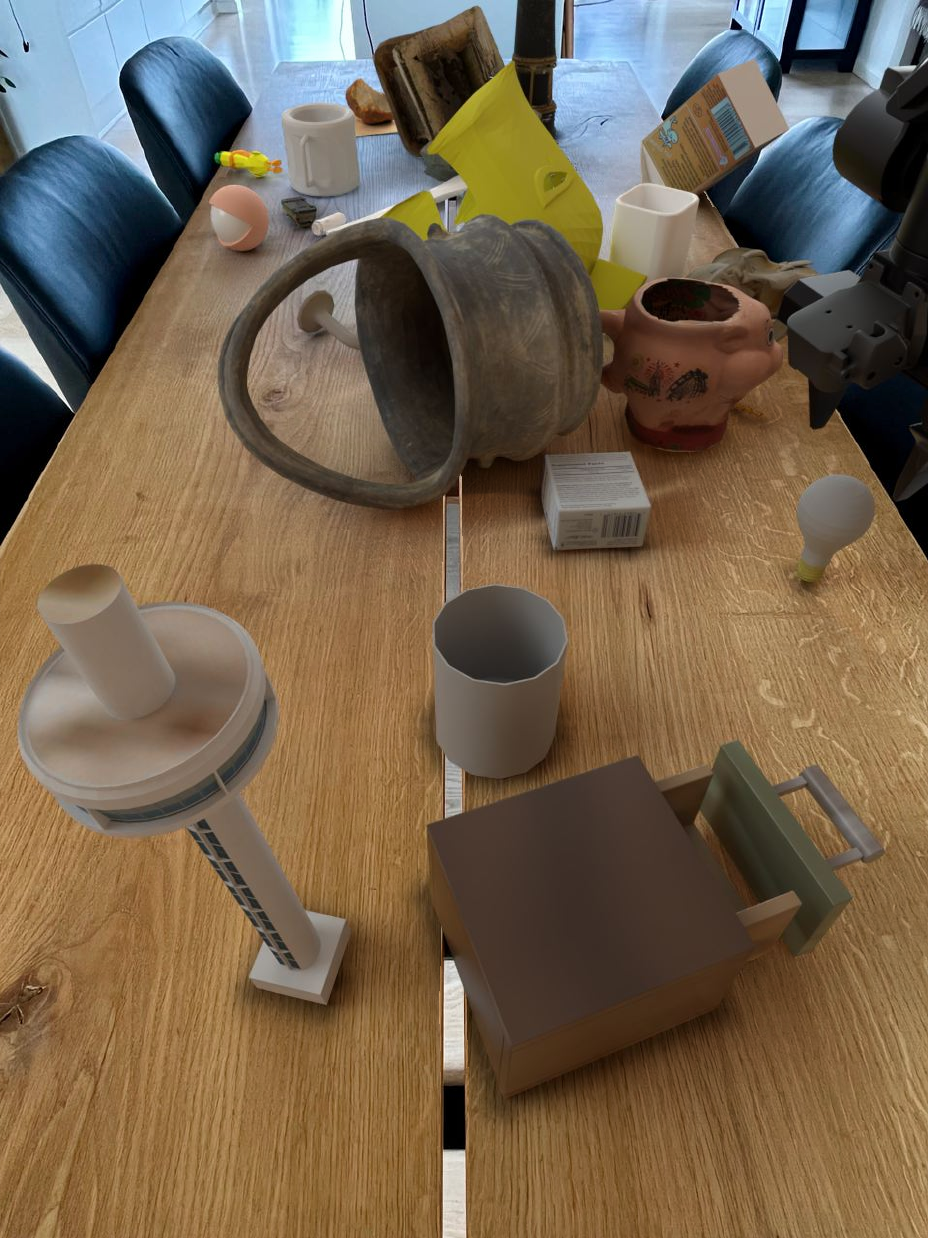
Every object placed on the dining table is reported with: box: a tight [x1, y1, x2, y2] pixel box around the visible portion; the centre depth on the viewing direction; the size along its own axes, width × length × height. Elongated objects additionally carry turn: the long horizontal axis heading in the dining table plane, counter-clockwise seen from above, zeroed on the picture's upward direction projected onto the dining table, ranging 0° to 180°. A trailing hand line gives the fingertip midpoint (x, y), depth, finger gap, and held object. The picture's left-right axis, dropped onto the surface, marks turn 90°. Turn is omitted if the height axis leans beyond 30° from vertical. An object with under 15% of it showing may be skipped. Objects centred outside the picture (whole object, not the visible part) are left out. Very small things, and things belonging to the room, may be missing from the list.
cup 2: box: [608, 183, 700, 285], centre depth 92 cm, size 7×7×15 cm
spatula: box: [325, 175, 468, 236], centre depth 121 cm, size 28×4×2 cm, turn 137°
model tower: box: [17, 563, 352, 1006], centre depth 36 cm, size 8×8×30 cm
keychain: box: [732, 403, 766, 420], centre depth 86 cm, size 8×1×1 cm, turn 43°
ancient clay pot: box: [216, 214, 604, 511], centre depth 72 cm, size 22×23×30 cm
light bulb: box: [796, 473, 876, 583], centre depth 66 cm, size 6×5×10 cm
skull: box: [685, 247, 822, 343], centre depth 91 cm, size 12×18×12 cm
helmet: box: [380, 59, 647, 335], centre depth 90 cm, size 16×23×30 cm
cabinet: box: [425, 754, 756, 1100], centre depth 45 cm, size 13×12×9 cm
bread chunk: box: [345, 77, 398, 137], centre depth 149 cm, size 15×11×11 cm
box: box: [540, 451, 652, 551], centre depth 72 cm, size 8×4×9 cm
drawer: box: [654, 739, 886, 963], centre depth 47 cm, size 16×10×7 cm, turn 111°
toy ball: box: [208, 184, 270, 252], centre depth 111 cm, size 8×8×8 cm
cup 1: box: [432, 583, 569, 780], centre depth 55 cm, size 8×8×10 cm
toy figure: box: [214, 149, 283, 179], centre depth 132 cm, size 7×4×12 cm
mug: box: [280, 102, 361, 197], centre depth 125 cm, size 14×11×10 cm
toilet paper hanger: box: [296, 289, 361, 351], centre depth 99 cm, size 25×8×5 cm, turn 135°
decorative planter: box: [599, 277, 784, 453], centre depth 79 cm, size 20×12×14 cm, turn 87°
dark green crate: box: [280, 196, 318, 228], centre depth 119 cm, size 4×8×2 cm, turn 25°
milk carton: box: [639, 58, 790, 196], centre depth 122 cm, size 11×11×19 cm
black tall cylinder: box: [511, 0, 558, 139], centre depth 136 cm, size 9×9×30 cm
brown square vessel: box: [371, 5, 506, 158], centre depth 138 cm, size 22×24×20 cm
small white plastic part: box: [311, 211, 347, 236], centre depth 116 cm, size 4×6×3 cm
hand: (856, 461), depth 61 cm, fingers open, 9 cm apart
